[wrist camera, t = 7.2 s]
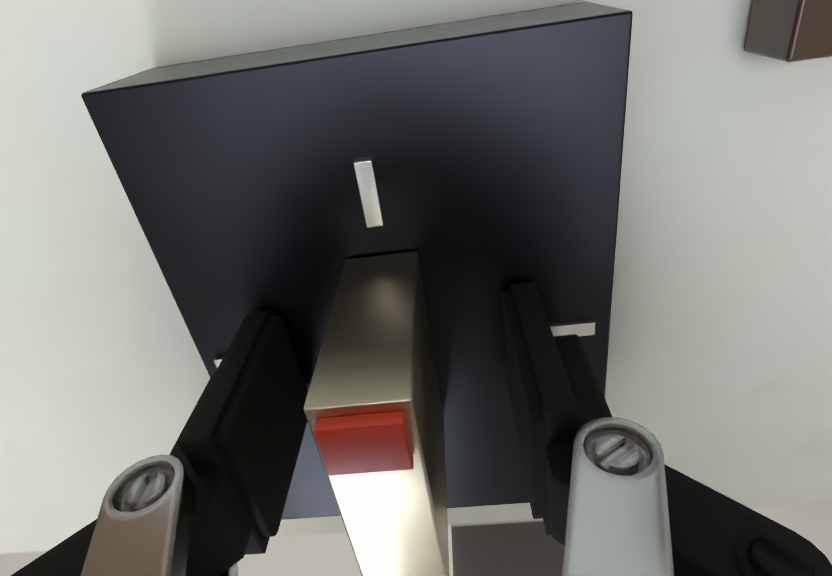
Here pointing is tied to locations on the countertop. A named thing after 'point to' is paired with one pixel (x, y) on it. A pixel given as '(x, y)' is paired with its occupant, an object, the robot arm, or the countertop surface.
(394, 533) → the knob
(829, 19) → the brown button base
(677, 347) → the countertop surface
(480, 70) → the panel
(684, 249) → the countertop surface
